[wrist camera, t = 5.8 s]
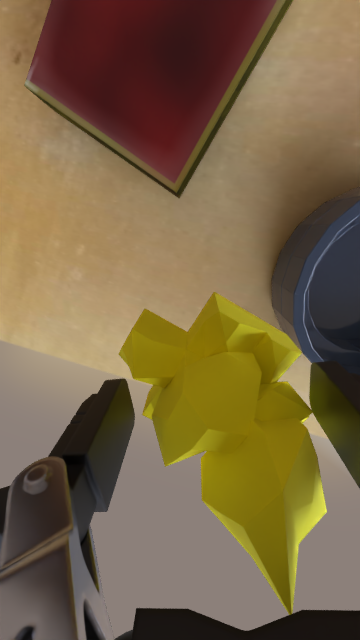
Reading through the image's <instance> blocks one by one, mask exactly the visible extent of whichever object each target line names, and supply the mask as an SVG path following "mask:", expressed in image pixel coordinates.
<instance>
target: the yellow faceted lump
mask: <svg viewBox="0 0 360 640" xmlns="http://www.w3.org/2000/svg"><path fill="white" fill-rule="evenodd" d="M301 353H302V352H301V351H300V350H299V348H298V347H297V346H296V345H295V344H294V342H293V341H292V340H291V339H290V338H289V336H288V335H287V334H285V333H283V332H281V331H280V330H278V329H276V328H275V327H273V326H271V325H270V324H268V323H266V322H265V321H263V320H261V319H260V318H258V317H256V316H254V315H253V314H251V313H249V312H248V311H246V310H244V309H243V308H241V307H239V306H238V305H236V304H234V303H232V302H231V301H229V300H227V299H226V298H224V297H222V296H221V295H219V294H217V293H216V292H214V293H213V294H212V296H211V297H210V299H209V300H208V302H207V303H206V305H205V306H204V308H203V309H202V311H201V312H200V314H199V316H198V317H197V319H196V320H195V322H194V323H193V325H192V326H191V328H190V329H189V331H188V332H186V331H185V330H183V329H181V328H179V327H178V326H176V325H174V324H172V323H170V322H169V321H167V320H165V319H163V318H161V317H160V316H158V315H156V314H154V313H153V312H151V311H149V310H147V309H144V311H143V312H142V314H141V315H140V317H139V319H138V320H137V322H136V324H135V325H134V327H133V328H132V330H131V332H130V334H129V336H128V337H127V339H126V341H125V343H124V345H123V346H122V348H121V350H120V352H119V355H120V356H121V358H122V359H123V360H124V361H125V362H126V363H127V365H128V366H129V368H130V371H131V373H132V376H133V379H136V380H139V381H142V382H146V383H149V384H152V385H153V386H152V388H151V390H150V391H149V393H148V396H147V400H146V404H145V407H144V410H143V416H146V417H148V418H150V419H151V420H153V424H154V427H155V431H156V435H157V439H158V442H159V446H160V450H161V453H162V457H163V461H164V464H165V466H168V465H171V464H173V463H176V462H178V461H181V460H183V459H186V458H189V457H191V456H194V455H196V454H199V453H201V452H204V451H207V452H206V453H205V454H204V455H203V456H202V458H201V485H202V486H201V487H202V501H203V502H204V503H205V504H206V505H207V506H208V507H209V508H210V510H211V511H212V512H213V513H214V514H215V515H216V516H217V518H218V519H219V520H220V521H221V522H222V523H223V525H224V526H225V527H226V528H227V529H228V530H229V531H230V533H231V534H232V535H233V536H234V537H235V538H236V540H237V541H238V542H239V543H240V544H241V545H242V546H243V548H245V550H246V551H247V552H248V553H249V554H250V555H251V557H252V558H253V560H254V561H255V563H256V564H257V566H258V567H259V569H260V570H261V572H262V574H263V575H264V576H265V578H266V580H267V581H268V582H269V584H270V586H271V587H272V589H273V590H274V592H275V593H276V595H277V597H278V598H279V600H280V601H281V603H282V604H283V606H284V607H285V609H286V610H287V612H288V613H289V615H291V614H292V611H293V600H294V589H295V579H296V568H297V557H298V545H299V543H300V542H301V541H302V540H303V539H304V537H305V536H306V535H307V534H308V533H309V532H310V531H311V529H312V528H313V527H314V526H315V525H316V524H317V522H318V521H319V520H320V519H321V518H322V517H323V516H324V514H325V513H326V512H327V510H326V504H325V499H324V493H323V487H322V482H321V476H320V470H319V465H318V458H317V454H316V452H315V449H314V446H313V443H312V441H311V438H310V435H309V432H308V429H307V428H306V427H305V426H304V425H303V424H302V423H303V422H304V421H305V420H306V419H307V418H308V417H309V415H310V414H311V413H313V411H312V410H311V409H310V408H309V407H308V406H307V404H306V403H305V402H304V401H303V400H302V398H301V397H300V396H299V395H298V394H297V393H296V391H295V390H294V389H293V388H292V387H291V386H290V384H289V383H288V382H277V381H278V379H279V378H280V377H281V376H282V375H283V374H284V373H285V371H286V370H287V369H288V368H289V367H290V366H291V365H292V363H293V362H294V361H295V360H296V359H297V358H298V357H299V355H300V354H301Z"/></svg>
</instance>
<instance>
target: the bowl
mask: <svg viewBox="0 0 360 640" xmlns="http://www.w3.org/2000/svg"><path fill="white" fill-rule="evenodd" d="M272 306H273V309H274V312H275V314H276V317H277V320H278V322H279V325H280V327H281V329H282V330H283V331H284V332H285V333H286V334H287V335H288V336H289V338H290V339H291V340H292V341H293V342H294V344H295V345H296V346H297V347H298V348H299V349H300V350H301V352H302V353H303V354H304V355H305V356H306V357H307V358H308V360H309V361H310V362H311V363H313V362H324V361H337V362H338V363H339V364H340V365H341V366H342V367H343V368H344V369H345V370H347V371H348V372H349V373H356V374H357V375H359V376H360V187H357V188H354V189H352V190H350V191H348V192H346V193H344V194H341V195H339V196H337V197H335V198H333V199H331V200H329V201H327V202H325V203H324V204H322V205H321V206H320V207H319V208H317V209H316V210H315V211H314V212H313V213H312V214H311V215H309V216H308V217H307V218H306V219H305V220H304V221H303V222H301V223H300V224H299V225H298V226H297V228H296V229H295V231H294V232H293V234H292V235H291V237H290V238H289V240H288V241H287V243H286V244H285V246H284V247H283V249H282V250H281V252H280V255H279V258H278V261H277V264H276V268H275V271H274V274H273V277H272Z"/></svg>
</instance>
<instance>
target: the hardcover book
mask: <svg viewBox="0 0 360 640" xmlns="http://www.w3.org/2000/svg"><path fill="white" fill-rule="evenodd" d="M292 1H293V0H52V1H51V4H50V7H49V10H48V13H47V17H46V20H45V23H44V26H43V29H42V32H41V35H40V38H39V41H38V45H37V48H36V51H35V54H34V57H33V60H32V63H31V66H30V69H29V73H28V76H27V79H26V82H25V85H24V86H25V87H26V88H27V89H29V90H30V91H31V92H32V93H33V94H34V95H36V96H37V97H38V98H39V99H40V100H42V101H43V102H44V103H45V104H46V105H48V106H49V107H50V108H52V109H53V110H54V111H55V112H57V113H58V114H60V115H61V116H63V117H64V118H65V119H67V120H68V121H70V122H71V123H72V124H74V125H75V126H77V127H78V128H80V129H81V130H82V131H84V132H85V133H87V134H88V135H90V136H91V137H92V138H94V139H95V140H97V141H98V142H100V143H101V144H102V145H104V146H105V147H107V148H108V149H110V150H111V151H112V152H114V153H115V154H117V155H118V156H120V157H121V158H122V159H124V160H125V161H127V162H128V163H130V164H131V165H132V166H134V167H135V168H137V169H138V170H140V171H141V172H142V173H144V174H145V175H147V176H148V177H149V178H151V179H152V180H154V181H155V182H157V183H158V184H159V185H161V186H162V187H164V188H165V189H167V190H168V191H169V192H171V193H172V194H174V195H175V196H177V197H178V198H180V196H181V194H182V192H183V191H184V189H185V187H186V186H187V184H188V182H189V180H190V179H191V177H192V175H193V173H194V172H195V170H196V168H197V166H198V165H199V163H200V161H201V159H202V158H203V156H204V154H205V152H206V151H207V149H208V147H209V146H210V144H211V142H212V140H213V139H214V137H215V135H216V133H217V132H218V130H219V128H220V126H221V125H222V123H223V121H224V119H225V118H226V116H227V114H228V113H229V111H230V109H231V107H232V106H233V104H234V102H235V100H236V99H237V97H238V95H239V93H240V92H241V90H242V88H243V86H244V85H245V83H246V81H247V79H248V78H249V76H250V74H251V73H252V71H253V69H254V67H255V66H256V64H257V62H258V60H259V59H260V57H261V55H262V53H263V52H264V50H265V48H266V46H267V45H268V43H269V41H270V40H271V38H272V36H273V34H274V33H275V31H276V29H277V27H278V26H279V24H280V22H281V20H282V19H283V17H284V15H285V13H286V12H287V10H288V8H289V6H290V5H291V3H292Z"/></svg>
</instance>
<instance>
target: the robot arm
mask: <svg viewBox="0 0 360 640" xmlns="http://www.w3.org/2000/svg"><path fill="white" fill-rule="evenodd" d="M309 398H310V405H311V409H312V411H313V414H314V416H315V417H316V419H317V421H318V422H319V424H320V425H321V427H322V429H323V430H324V432H325V433H326V435H327V437H328V438H329V440H330V441H331V443H332V445H333V446H334V448H335V449H336V451H337V453H338V454H339V456H340V458H341V459H342V461H343V462H344V464H345V466H346V467H347V469H348V471H349V472H350V474H351V475H352V477H353V479H354V480H355V482H356V483H357V485H358V487H359V488H360V376H359V375H357V374H356V373H349V372H348V371H347V370H345V369H344V368H343V367H342V366H341V365H340V364H339V363H338V362H337V361H324V362H313V363H312V365H311V372H310V396H309ZM134 420H135V414H134V408H133V404H132V400H131V396H130V392H129V388H128V384H127V381H126V379H113V380H106V381H105V382H104V383H103V385H102V387H101V388H100V390H99V392H98V393H97V394H92V395H91V396H90V397H89V398H88V399H86V400H85V401H84V402H83V403H82V405H81V406H80V408H79V409H78V411H77V413H76V415H75V416H74V417H73V419H72V420H71V422H70V424H69V425H68V426H67V428H66V430H65V431H64V433H63V434H62V436H61V437H60V439H59V440H58V442H57V444H56V445H55V447H54V448H53V450H52V451H51V453H50V455H49V456H48V457H46V458H43V459H40V460H38V461H36V462H34V463H32V464H31V465H29V466H28V467H26V468H25V469H24V470H23V471H22V472H21V473H20V474H19V475H18V476H17V477H16V478H15V480H14V481H13V482H12V484H11V485H10V486H8V487H4V488H1V489H0V640H360V611H341V610H339V611H338V610H301V611H299V612H296V613H293V614H291V615H289V616H286V617H283V618H281V619H278V620H276V621H273V622H271V623H268V624H266V625H263V626H261V627H258V628H256V629H253V630H250V631H244V630H240V629H237V628H235V627H232V626H230V625H227V624H224V623H222V622H220V621H217V620H214V619H212V618H210V617H207V616H205V615H202V614H200V613H197V612H195V611H192V610H189V609H152V608H137V609H136V614H135V621H134V627H133V630H131V631H128V632H126V633H124V634H122V635H121V636H119V637H118V638H116V639H114V635H113V630H112V626H111V623H110V619H109V616H108V613H107V609H106V605H105V600H104V596H103V591H102V585H101V580H100V574H99V568H98V563H97V557H96V552H95V547H94V541H93V535H92V531H91V527H90V522H91V519H92V516H93V514H94V512H107V510H108V507H109V504H110V501H111V498H112V494H113V491H114V488H115V484H116V481H117V478H118V475H119V472H120V469H121V465H122V462H123V459H124V456H125V452H126V449H127V446H128V443H129V440H130V436H131V433H132V430H133V427H134Z"/></svg>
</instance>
